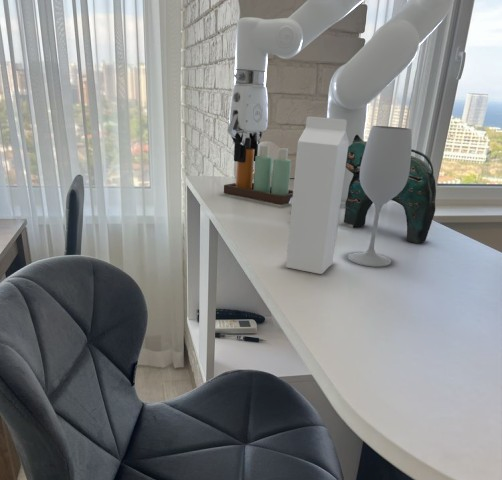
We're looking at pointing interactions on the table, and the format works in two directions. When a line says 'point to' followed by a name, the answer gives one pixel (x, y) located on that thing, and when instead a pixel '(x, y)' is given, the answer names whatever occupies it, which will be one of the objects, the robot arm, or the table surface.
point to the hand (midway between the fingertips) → (245, 160)
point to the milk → (317, 194)
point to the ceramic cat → (411, 197)
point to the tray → (258, 194)
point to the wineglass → (383, 178)
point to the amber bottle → (246, 168)
